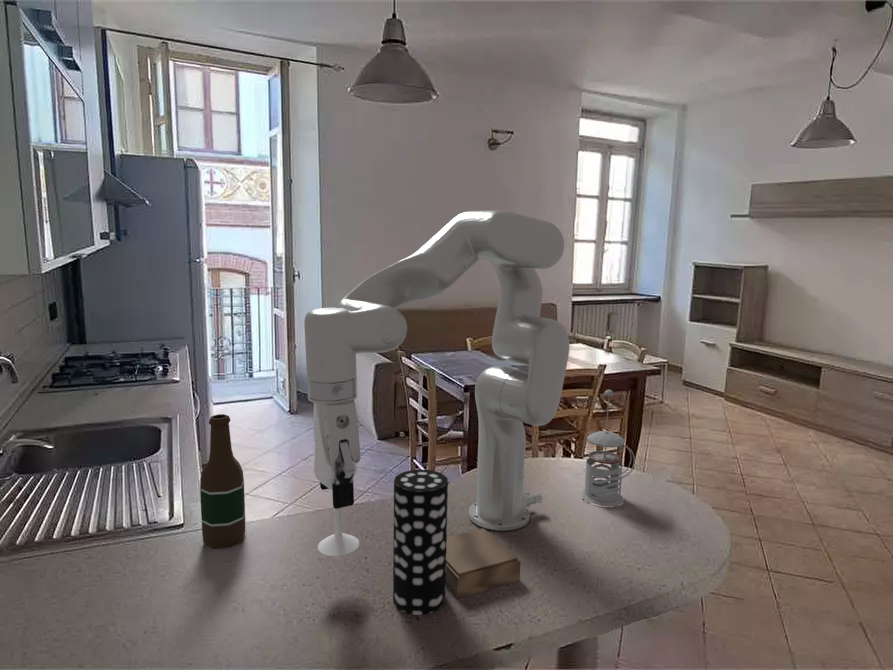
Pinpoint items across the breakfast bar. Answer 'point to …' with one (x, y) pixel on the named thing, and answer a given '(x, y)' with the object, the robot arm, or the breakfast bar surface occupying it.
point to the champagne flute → (338, 541)
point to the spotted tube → (420, 541)
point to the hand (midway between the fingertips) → (336, 495)
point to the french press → (601, 489)
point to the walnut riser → (478, 563)
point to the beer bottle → (222, 490)
